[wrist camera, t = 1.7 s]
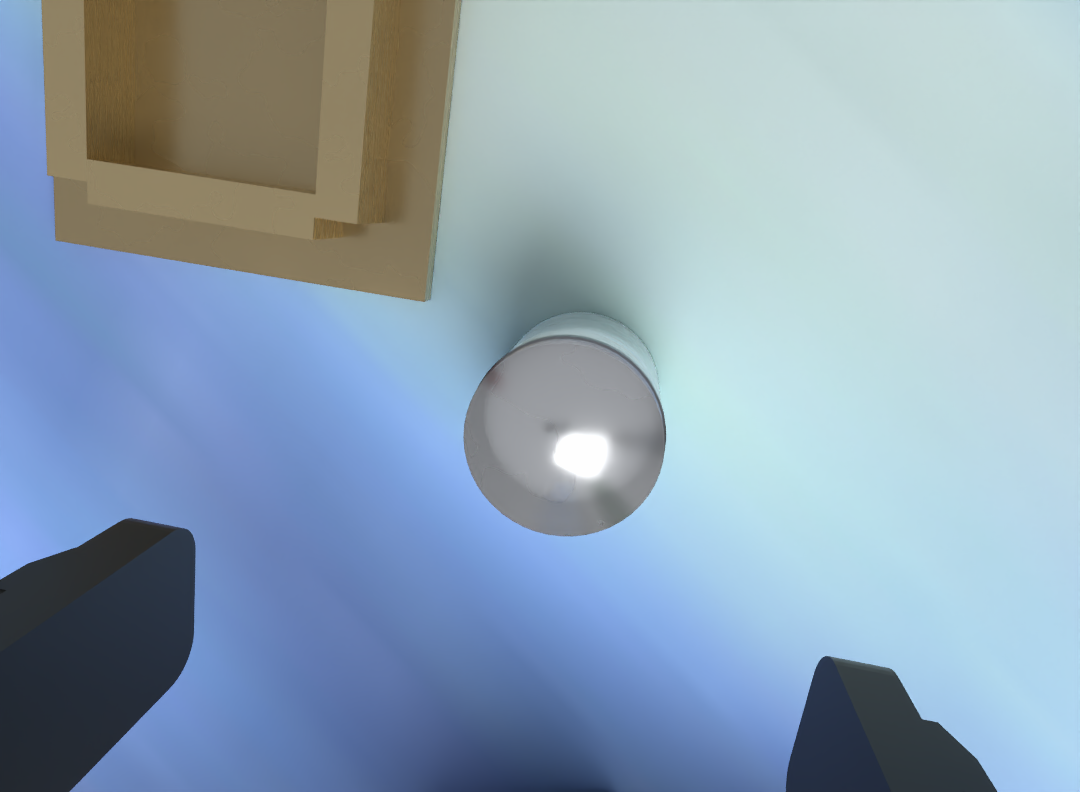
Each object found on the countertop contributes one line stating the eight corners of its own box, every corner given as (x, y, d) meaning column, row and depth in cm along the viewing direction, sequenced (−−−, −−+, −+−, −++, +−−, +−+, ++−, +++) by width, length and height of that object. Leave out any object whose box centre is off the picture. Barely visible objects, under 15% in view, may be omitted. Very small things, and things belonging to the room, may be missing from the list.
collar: (477, -151, 19) (452, -204, 17) (429, 299, 22) (403, 310, 20) (58, -196, 20) (-23, -252, 18) (69, 239, 23) (2, 243, 21)
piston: (674, 324, 22) (685, 360, 16) (644, 477, 23) (645, 554, 18) (513, 297, 22) (474, 325, 17) (493, 449, 23) (451, 517, 18)
